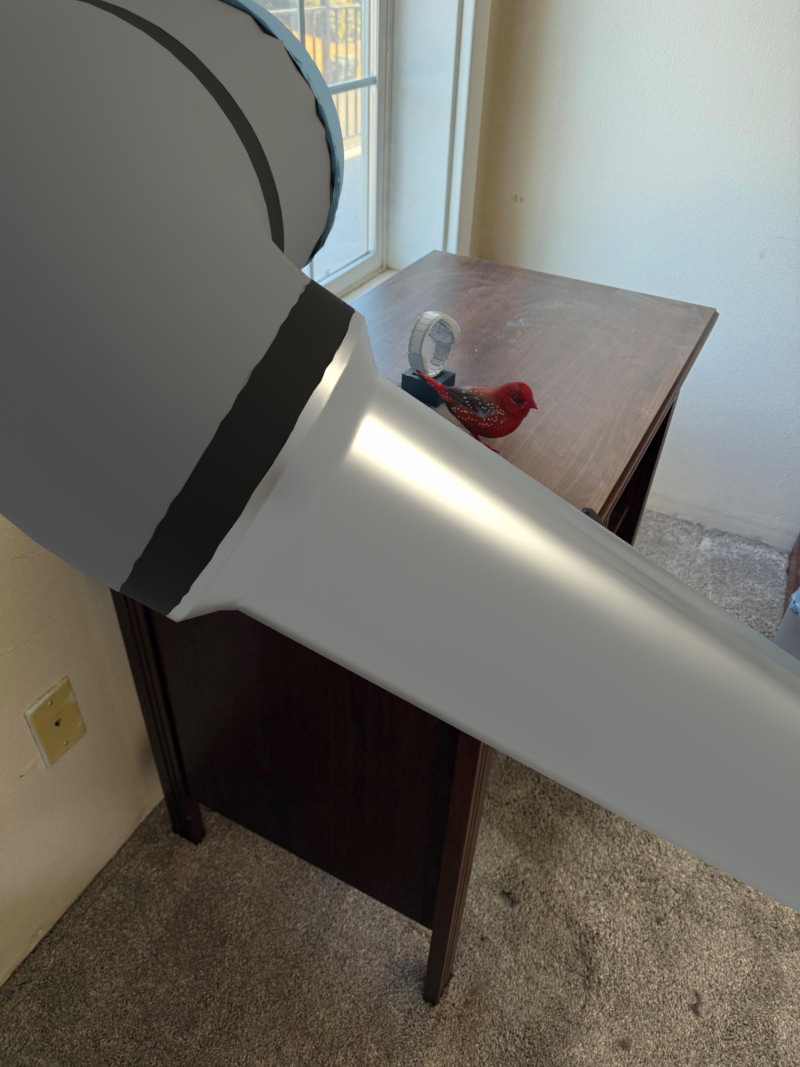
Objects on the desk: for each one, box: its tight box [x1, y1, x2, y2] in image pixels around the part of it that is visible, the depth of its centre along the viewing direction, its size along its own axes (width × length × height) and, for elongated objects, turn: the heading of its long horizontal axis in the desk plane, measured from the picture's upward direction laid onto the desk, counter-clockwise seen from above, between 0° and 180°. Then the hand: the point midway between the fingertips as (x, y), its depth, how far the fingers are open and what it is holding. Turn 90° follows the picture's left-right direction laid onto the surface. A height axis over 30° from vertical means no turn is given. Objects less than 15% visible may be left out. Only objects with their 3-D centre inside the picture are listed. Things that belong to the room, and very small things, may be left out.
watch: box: [400, 310, 461, 408], centre depth 95 cm, size 6×8×11 cm
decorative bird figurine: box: [416, 369, 539, 454], centre depth 86 cm, size 3×18×10 cm, turn 47°
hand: (440, 520), depth 63 cm, fingers open, 13 cm apart
